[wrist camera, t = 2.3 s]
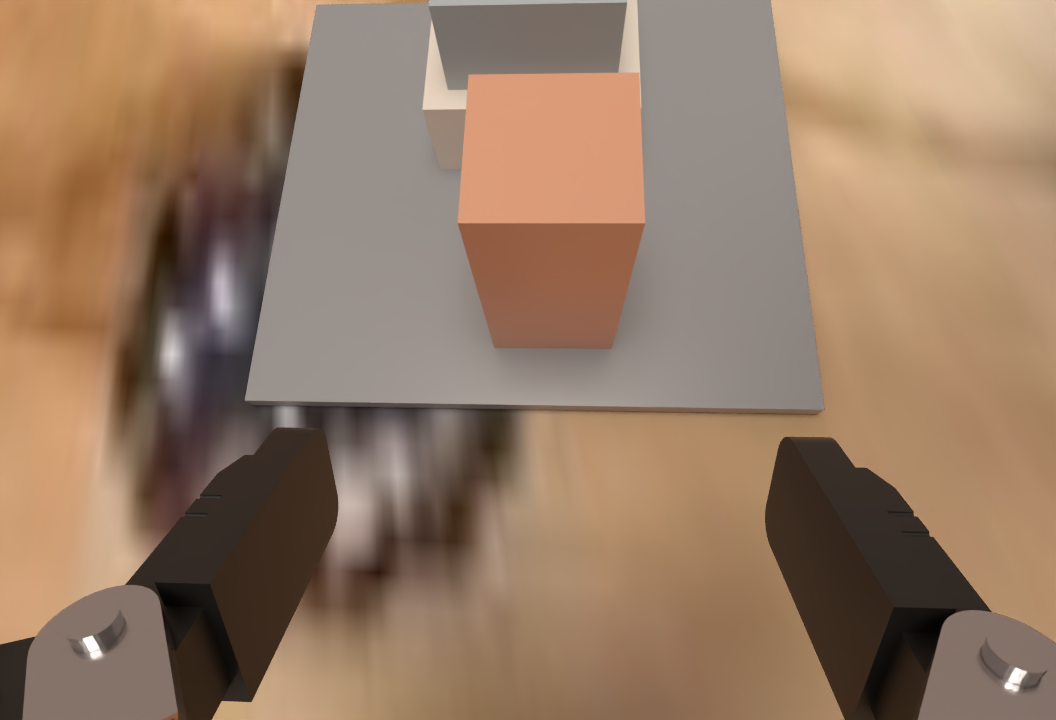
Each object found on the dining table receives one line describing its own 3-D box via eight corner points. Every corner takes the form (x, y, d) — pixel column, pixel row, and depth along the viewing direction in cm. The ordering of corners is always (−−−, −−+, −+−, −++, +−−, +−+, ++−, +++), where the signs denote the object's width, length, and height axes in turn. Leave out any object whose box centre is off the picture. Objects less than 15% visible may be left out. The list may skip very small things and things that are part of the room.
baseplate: (765, 9, 32) (769, -4, 31) (816, 414, 25) (824, 409, 24) (322, 17, 33) (316, 4, 32) (253, 405, 26) (244, 400, 25)
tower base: (625, 21, 31) (647, -155, 23) (629, 168, 28) (657, 24, 20) (452, 24, 31) (419, -147, 24) (440, 169, 28) (398, 28, 21)
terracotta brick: (609, 244, 27) (639, 72, 17) (611, 348, 25) (645, 223, 16) (499, 243, 27) (468, 74, 18) (494, 347, 25) (457, 223, 16)
